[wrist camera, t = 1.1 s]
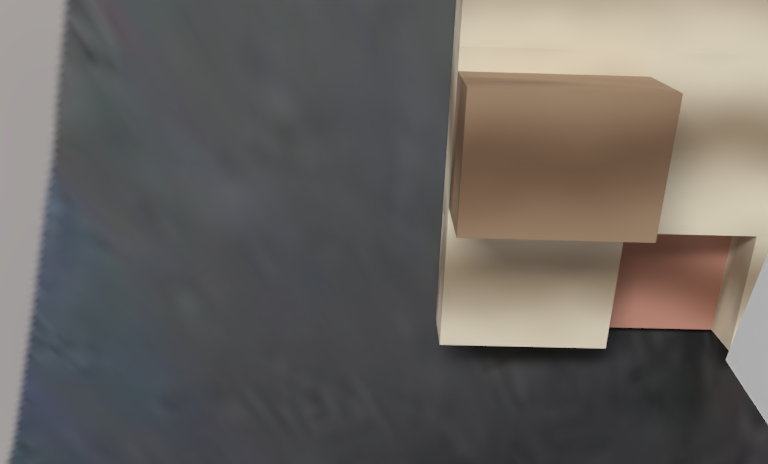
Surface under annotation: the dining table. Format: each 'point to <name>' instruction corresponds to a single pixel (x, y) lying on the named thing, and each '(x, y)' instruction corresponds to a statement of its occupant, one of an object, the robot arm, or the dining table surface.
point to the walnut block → (561, 156)
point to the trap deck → (683, 189)
